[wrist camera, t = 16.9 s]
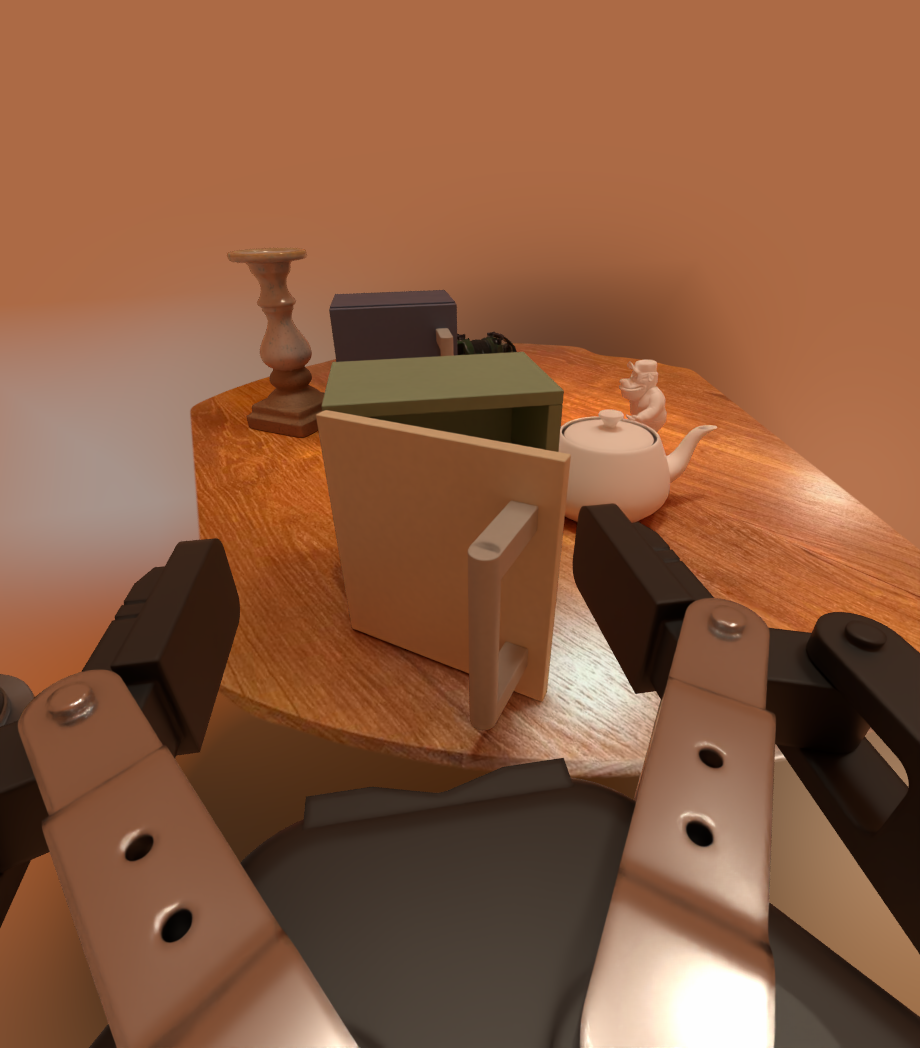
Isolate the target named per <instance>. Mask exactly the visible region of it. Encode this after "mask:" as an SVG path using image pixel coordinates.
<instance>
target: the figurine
mask: <svg viewBox="0 0 920 1048" xmlns="http://www.w3.org/2000/svg"><path fill="white" fill-rule="evenodd" d="M627 366H628V367H629V368H630V369H633V371H632V374H631V377H630V379H620V383H621V385H620V386H619V388H620V390H621V394H622V396H623V397H624V398H626V399H629V400H630V413H631V415H632V416H629V415H626V416H627V418H628V419H629V420H633V421H636V422H639V423H642V424H644V425H647V426H649V427H650V428H652V429H653V430H655V431H656V432H658V430H660V429H661V428H662V427H663V425H664V424H665V422H666V415H667V413H666V410H665V397H664V395H663V393H662V392H661V390H660V389H659V388H657V387H656V383H657V382H658V373H657V371H656V369H657V362H656V361H654V360H639V361H637V362H636V363H635V367H634V365H633V364H632V363H631V362H629V363H628V364H627Z"/></svg>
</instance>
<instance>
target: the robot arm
mask: <svg viewBox="0 0 920 1048" xmlns="http://www.w3.org/2000/svg"><path fill="white" fill-rule="evenodd" d="M679 559H680V558H679V557H678V556H677V555H676V554H675V552H674V551H673V550H670V547H669V546H668V544H667V543H666V542H665V541H664V540H663V539H662V538H661V537H660V535H659V534H658V533H656V532H655V531H653V530H651V529H650V528H648V527H646V526H645V525H643V524H641V523H639V522H634V523H632V522H631V521H630V520H629V519H628V518H627V516H626V515H625V514H624V513H623V512H622V510H621V509H620V508H619V507H618V506H617V505H616V504H614V503H611V504H600V505H589V506H582V507H581V509H580V511H579V515H578V522H577V530H576V538H575V546H574V554H573V575H574V579H575V583H576V585H577V588H578V589H579V591H580V593H581V595H582V597H583V599H584V600H585V602H586V604H587V606H588V608H589V610H590V611H591V613H592V615H593V617H594V619H595V621H596V622H597V624H598V626H599V628H600V630H601V632H602V633H603V635H604V637H605V639H606V641H607V643H608V644H609V646H610V648H611V650H612V652H613V654H614V655H615V657H616V659H617V661H618V663H619V664H620V666H621V668H622V670H623V672H624V674H625V675H626V677H627V679H628V681H629V683H630V685H631V686H632V688H633V690H634V692H635V694H638V693H645V692H653V691H656V692H657V693H658V695H659V697H660V699H661V701H660V705H659V708H658V712H657V716H656V719H655V723H654V727H653V731H652V734H651V738H650V742H649V746H648V749H647V753H646V757H645V761H644V764H643V768H642V772H641V776H640V779H639V783H638V787H637V790H636V794H635V798H634V800H632V799H631V798H629V797H627V796H626V795H624V794H622V793H620V792H617V791H615V790H613V789H611V788H609V787H606V786H603V785H600V784H597V783H594V782H590V781H586V780H581V779H575V778H570V775H569V772H568V769H567V767H566V764H565V761H564V758H559V759H553V760H546V761H540V762H533V763H526V764H520V765H513V766H506V767H502V768H500V769H497V770H495V771H493V772H490V773H488V774H486V775H484V776H481V777H478V778H476V779H474V780H471V781H469V782H467V783H464V784H462V785H460V786H457V787H455V788H453V789H451V790H448V791H445V792H441V793H430V792H420V791H409V790H398V789H389V788H379V787H367V788H361V789H354V790H348V791H341V792H334V793H328V794H321V795H315V796H308V797H306V802H305V812H304V819H303V820H301V821H299V822H296V823H294V824H292V825H290V826H289V827H287V828H285V829H283V830H281V831H279V832H278V833H276V834H275V835H273V836H272V837H271V838H269V839H268V840H266V841H265V842H263V843H262V844H261V845H259V846H258V847H257V848H256V849H255V850H254V851H252V852H251V853H250V854H249V855H248V856H247V857H246V858H245V859H244V860H243V861H242V862H241V863H240V862H239V860H238V859H237V857H236V856H235V854H234V852H233V851H232V849H231V848H230V846H229V844H228V843H227V841H226V840H225V838H224V836H223V835H222V833H221V832H220V830H219V829H218V827H217V825H216V824H215V822H214V821H213V819H212V818H211V816H210V814H209V813H208V811H207V810H206V808H205V806H204V805H203V803H202V801H201V800H200V798H199V797H198V795H197V793H196V792H195V790H194V789H193V787H192V785H191V784H190V782H189V781H188V779H187V778H186V776H185V775H184V773H183V771H182V770H181V768H180V766H179V765H178V763H177V762H176V760H175V757H176V755H182V754H190V753H198V752H200V750H201V746H202V743H203V740H204V736H205V733H206V730H207V726H208V723H209V720H210V717H211V713H212V710H213V706H214V703H215V700H216V696H217V693H218V690H219V687H220V683H221V680H222V677H223V673H224V670H225V667H226V663H227V660H228V657H229V653H230V650H231V647H232V644H233V640H234V637H235V634H236V630H237V627H238V623H239V618H240V603H239V597H238V593H237V590H236V586H235V583H234V580H233V576H232V573H231V570H230V567H229V563H228V560H227V557H226V554H225V550H224V547H223V545H222V543H221V541H220V540H219V539H216V538H215V539H204V540H193V541H183V542H179V543H178V544H177V545H176V547H175V549H174V551H173V553H172V555H171V556H170V558H169V560H168V562H167V564H166V566H165V567H155V568H153V569H152V570H151V571H150V572H148V573H147V574H146V575H145V576H143V577H142V578H141V579H140V580H139V581H137V582H136V583H135V584H134V586H133V587H132V589H131V591H130V592H129V594H128V595H127V597H126V599H125V600H124V605H122V606H121V607H120V609H119V610H118V612H117V614H116V615H115V620H114V621H112V622H111V624H110V625H109V627H108V629H107V630H106V632H105V634H104V635H103V637H102V638H101V640H100V642H99V643H98V645H97V647H96V648H95V650H94V652H93V653H92V655H91V657H90V658H89V660H88V662H87V663H86V665H85V667H84V668H83V670H82V672H80V673H77V674H74V675H71V676H68V677H66V678H64V679H61V680H60V681H58V682H56V683H54V684H52V685H51V686H49V687H48V688H46V689H45V690H43V691H42V692H41V693H39V694H38V695H37V696H36V697H35V698H34V699H33V700H32V701H31V702H30V703H29V704H28V705H27V706H26V708H25V709H24V711H23V712H22V714H21V716H20V719H19V720H18V721H16V722H13V723H10V724H7V725H5V723H6V721H7V719H8V716H9V713H10V707H11V705H10V700H9V697H8V696H7V694H6V693H5V691H4V690H3V689H2V688H1V686H0V927H1V925H2V923H3V921H4V918H5V916H6V914H7V912H8V909H9V907H10V905H11V903H12V901H13V898H14V896H15V894H16V892H17V890H18V887H19V885H20V883H21V881H22V879H23V876H24V874H25V872H26V870H27V867H28V865H29V863H30V860H32V859H34V858H36V857H39V856H41V855H43V854H46V853H48V852H50V854H51V857H52V860H53V863H54V866H55V868H56V871H57V874H58V877H59V880H60V883H61V886H62V889H63V892H64V895H65V898H66V901H67V904H68V907H69V909H70V912H71V915H72V918H73V921H74V924H75V927H76V930H77V933H78V935H79V939H80V942H81V945H82V947H83V950H84V953H85V956H86V959H87V962H88V965H89V968H90V971H91V974H92V976H93V980H94V983H95V985H96V988H97V991H98V994H99V997H100V1000H101V1003H102V1006H103V1009H104V1012H105V1015H106V1018H107V1021H108V1023H109V1024H108V1025H107V1026H106V1027H105V1029H104V1030H103V1031H102V1032H101V1034H100V1035H99V1036H98V1037H97V1039H96V1040H95V1041H94V1042H93V1043H92V1045H91V1046H90V1047H89V1048H920V1017H919V1016H918V1015H917V1014H915V1013H914V1012H912V1011H911V1010H910V1009H908V1008H907V1007H906V1006H905V1005H903V1004H902V1003H901V1002H899V1001H898V1000H897V999H895V998H894V997H893V996H892V995H890V994H889V993H888V992H886V991H885V990H884V989H882V988H881V987H880V986H878V985H877V984H876V983H874V982H873V981H872V980H871V979H869V978H868V977H867V976H865V975H864V974H862V973H861V972H860V971H859V970H857V969H856V968H855V967H853V966H852V965H851V964H849V963H848V962H847V961H846V960H844V959H843V958H842V957H840V956H839V955H838V954H836V953H835V952H834V951H832V950H831V949H830V948H828V947H827V946H826V945H824V944H823V943H822V942H821V941H819V940H818V939H817V938H815V937H814V936H813V935H811V934H810V933H809V932H807V931H806V930H805V929H803V928H802V927H801V926H800V925H798V924H797V923H796V922H794V921H793V920H792V919H790V918H789V917H788V916H786V915H785V914H784V913H782V912H781V911H780V910H779V909H777V908H776V907H775V906H773V905H772V904H771V903H769V889H770V888H769V887H770V862H771V861H770V860H771V836H772V809H773V782H774V757H775V744H776V745H777V746H778V748H779V749H780V751H781V752H782V753H783V755H784V756H785V758H786V759H787V761H788V762H789V764H790V765H791V767H792V768H793V769H794V771H795V772H796V774H797V775H798V777H799V778H800V780H801V781H802V783H803V784H804V786H805V787H806V789H807V790H808V791H809V793H810V794H811V796H812V797H813V799H814V800H815V802H816V803H817V805H818V806H819V807H820V809H821V810H822V812H823V813H824V815H825V816H826V818H827V819H828V821H829V822H830V824H831V825H832V827H833V828H834V829H835V831H836V832H837V834H838V835H839V837H840V838H841V840H842V841H843V843H844V844H845V845H846V847H847V848H848V850H849V851H850V853H851V854H852V856H853V857H854V859H855V860H856V862H857V863H858V865H859V866H860V867H861V869H862V870H863V872H864V873H865V875H866V876H867V878H868V879H869V881H870V882H871V883H872V885H873V886H874V888H875V889H876V891H877V892H878V894H879V895H880V897H881V898H882V900H883V901H884V903H885V904H886V905H887V907H888V908H889V910H890V911H891V913H892V914H893V916H894V917H895V919H896V920H897V921H898V923H899V925H900V926H901V927H902V929H903V930H904V932H905V933H906V935H907V936H908V938H909V939H910V940H911V942H912V943H913V945H914V946H915V948H916V949H917V950H918V952H919V954H920V653H919V652H918V651H917V650H916V649H914V648H913V647H912V646H911V645H910V644H909V643H908V642H906V641H905V640H904V639H903V638H902V637H901V636H900V635H898V634H897V633H896V632H895V631H893V630H892V629H890V628H888V627H887V626H885V625H883V624H881V623H879V622H877V621H875V620H873V619H870V618H867V617H864V616H861V615H857V614H852V613H845V612H833V613H828V614H825V615H823V616H821V617H820V618H819V619H818V620H817V622H816V625H815V627H814V629H813V631H812V633H808V632H799V631H791V630H782V629H774V628H768V626H767V625H766V623H765V622H764V621H763V619H762V618H761V617H760V616H758V615H757V614H756V613H755V612H753V611H752V610H750V609H749V608H747V607H745V606H743V605H740V604H738V603H735V602H732V601H729V600H724V599H718V598H714V597H713V596H712V595H711V594H710V592H709V591H708V590H707V589H706V588H705V587H704V586H703V584H702V583H701V582H700V581H699V580H698V579H697V578H696V576H695V575H694V574H693V573H692V572H691V571H690V570H689V568H688V567H687V566H686V565H685V564H684V563H683V562H682V561H680V560H679ZM870 727H871V728H872V729H873V730H874V731H875V733H876V734H877V735H878V736H879V737H880V738H881V739H882V740H883V742H884V743H885V744H886V745H887V746H888V747H889V748H890V749H891V751H892V752H893V753H894V754H895V755H896V756H897V757H898V758H899V760H900V761H901V763H902V765H903V766H904V768H905V770H906V773H907V776H908V780H909V788H908V786H907V785H906V784H905V783H904V782H903V781H902V779H901V778H900V777H899V776H898V775H897V774H896V772H895V771H894V770H893V769H892V768H891V767H890V765H888V763H887V762H886V761H885V760H884V758H883V757H882V756H881V755H880V754H879V753H878V752H877V750H876V749H875V748H874V747H873V746H872V744H871V743H870V742H869V741H868V740H867V739H866V737H865V735H866V733H867V732H868V730H869V729H870Z"/></svg>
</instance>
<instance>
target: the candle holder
mask: <svg viewBox="0 0 920 1048" xmlns="http://www.w3.org/2000/svg"><path fill="white" fill-rule="evenodd" d="M306 255H307V254H306V250H305V249H300V248H267V249H266V248H265V249H249V250H238V251H232V252H228V253H227V257H228V259H229V260H230V261H232V262H237V263H246V264H247V265H248V266H249V269H250V271H251V273H252V274H253V275H254V276H255V277H256V278H257V280H258V281H259V284H260V287H261V293H260V297H259V299H258V301H257V304H258V306H260V307H261V308H262V311H263V312H264V313H265V315H266V316H267V319H268V325H267V330H266V333H265V335H264V338H263V340H262V344H261V347H260V356H261V358H262V361H263V362H264V363H265V364H266V365H268V366H269V367H271V368H273V371H272V373H271V375H270V382H271V384H272V385H273V386H274V387H276V389H275V390H274V391H273V392H272V393H271V394H270V395H269V396H268V398H266V399H264V400H262V401H260V402H258V403H256V404H254V405H253V406H252V413H251V414H249V415H248V416H247V421H248V425H249V427H250V428H253V429H258V430H263V431H268V432H273V433H279V434H284V435H289V436H295V437H306V436H308V435H310V434H312V433H314V432H316V431H318V424H317V419H316V414H318V413H320V412H322V403H323V398H324V394H325V393H322V392H320V391H318V390H317V389H315V388H314V387H312V386H309V385H308V384H309V383H310V381H311V379H312V376H311V373H310V371H309V370H308V369H307V368H305V365H306V364H307V363H308V361H309V360H310V358H311V355H312V352H311V348H310V345H309V343H308V342H307V340H306V339H305V337H304V336H303V335H302V334H301V333H300V331H299V330H298V329H297V327H296V326H295V324H294V322H293V320H292V310H293V305H294V304H295V302H296V300H295V299H294V298H293V297H292V295H291V294H290V293H289V291H288V289H287V285H286V278H287V276H288V274H289V272H290V264H291V261H294V260H300V259H303V258H305V257H306Z"/></svg>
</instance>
